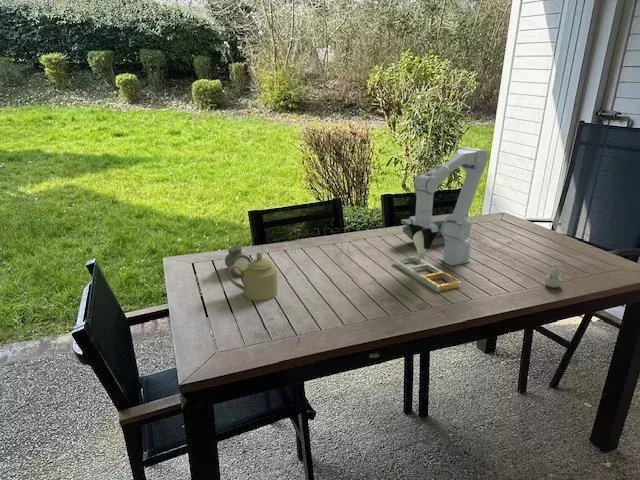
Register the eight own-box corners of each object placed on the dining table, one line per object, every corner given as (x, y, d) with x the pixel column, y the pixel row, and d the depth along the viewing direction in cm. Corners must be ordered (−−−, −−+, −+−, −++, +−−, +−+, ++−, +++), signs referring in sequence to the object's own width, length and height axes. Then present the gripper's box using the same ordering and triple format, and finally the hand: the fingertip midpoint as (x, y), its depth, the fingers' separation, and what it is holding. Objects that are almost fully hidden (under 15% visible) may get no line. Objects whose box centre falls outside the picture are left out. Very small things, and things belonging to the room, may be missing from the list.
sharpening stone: (448, 236, 204) (450, 213, 200) (458, 242, 197) (461, 218, 193) (399, 243, 196) (401, 219, 193) (408, 249, 189) (410, 224, 186)
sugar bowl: (241, 307, 140) (238, 263, 135) (228, 294, 149) (225, 252, 144) (283, 296, 148) (281, 253, 143) (269, 284, 157) (266, 244, 152)
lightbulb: (429, 263, 160) (431, 234, 157) (411, 261, 161) (413, 233, 158) (429, 257, 166) (431, 228, 162) (412, 255, 167) (413, 227, 164)
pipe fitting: (254, 273, 165) (249, 247, 162) (234, 279, 161) (228, 253, 158) (243, 266, 175) (238, 241, 172) (224, 272, 171) (218, 247, 169)
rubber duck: (539, 285, 153) (543, 264, 150) (550, 281, 156) (554, 260, 154) (555, 291, 148) (559, 269, 146) (566, 286, 152) (570, 264, 149)
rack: (414, 260, 176) (415, 255, 176) (460, 287, 152) (461, 281, 152) (393, 264, 173) (393, 259, 172) (437, 292, 149) (437, 286, 148)
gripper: (403, 206, 163) (401, 241, 167) (426, 215, 150) (424, 253, 154) (419, 204, 165) (417, 238, 169) (444, 213, 152) (441, 250, 157)
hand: (421, 245), depth 162 cm, fingers closed on lightbulb, 6 cm apart
